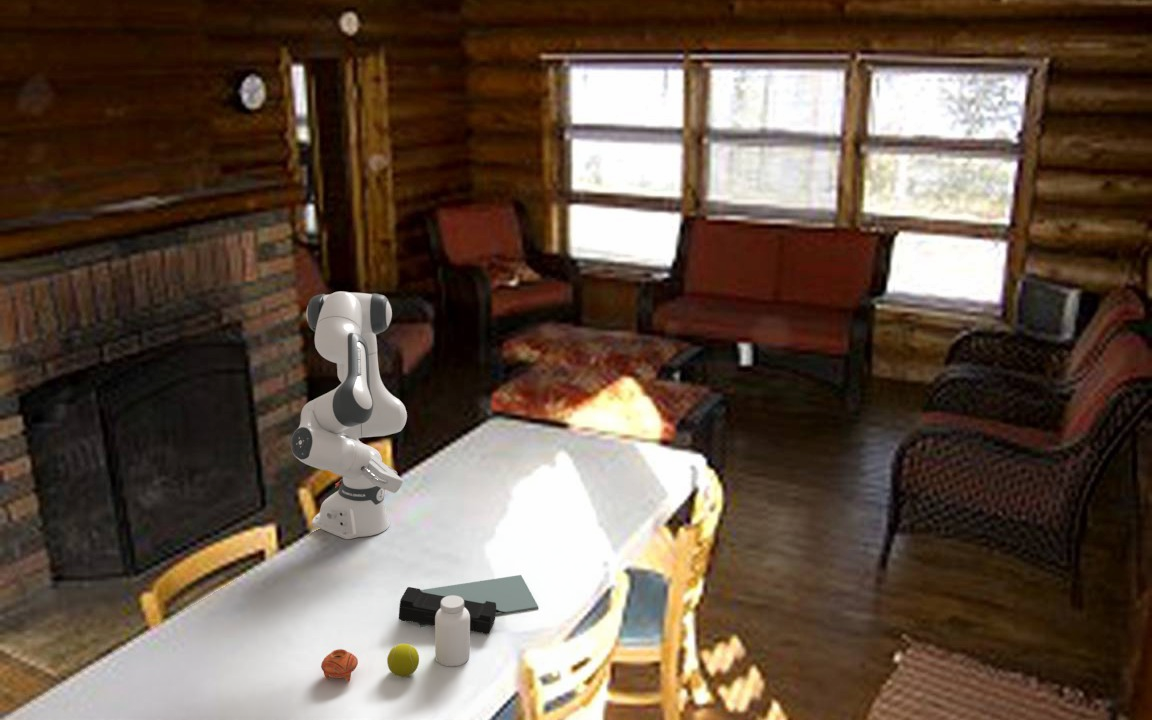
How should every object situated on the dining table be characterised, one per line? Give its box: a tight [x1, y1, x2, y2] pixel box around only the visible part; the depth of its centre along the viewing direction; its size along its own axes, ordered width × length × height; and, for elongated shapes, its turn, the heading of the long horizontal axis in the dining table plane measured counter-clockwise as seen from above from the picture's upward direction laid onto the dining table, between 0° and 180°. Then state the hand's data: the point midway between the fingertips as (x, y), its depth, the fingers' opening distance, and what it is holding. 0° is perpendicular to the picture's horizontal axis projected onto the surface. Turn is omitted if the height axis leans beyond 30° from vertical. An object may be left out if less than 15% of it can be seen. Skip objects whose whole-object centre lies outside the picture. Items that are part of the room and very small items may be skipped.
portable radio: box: [398, 586, 506, 635], centre depth 248 cm, size 8×6×25 cm
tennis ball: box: [386, 643, 420, 678], centre depth 229 cm, size 7×7×7 cm
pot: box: [320, 648, 359, 683], centre depth 227 cm, size 8×8×7 cm
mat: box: [417, 574, 539, 629], centre depth 259 cm, size 30×16×1 cm, turn 109°
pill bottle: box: [434, 595, 471, 667], centre depth 234 cm, size 8×8×15 cm
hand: (393, 473), depth 251 cm, fingers closed
